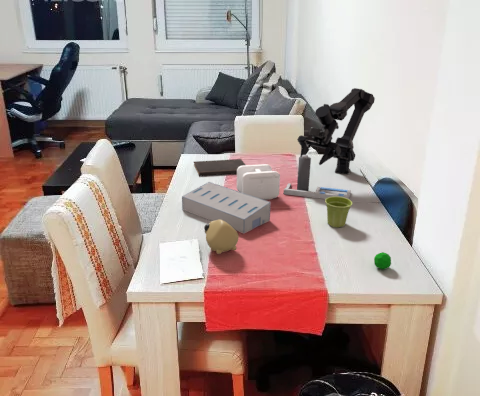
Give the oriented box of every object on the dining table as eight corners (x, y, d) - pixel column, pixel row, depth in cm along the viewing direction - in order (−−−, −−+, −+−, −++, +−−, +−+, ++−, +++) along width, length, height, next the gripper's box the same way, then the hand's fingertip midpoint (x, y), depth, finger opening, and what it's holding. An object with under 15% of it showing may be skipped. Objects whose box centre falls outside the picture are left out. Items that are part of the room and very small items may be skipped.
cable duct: (288, 184, 213) (289, 178, 212) (350, 191, 207) (351, 185, 206) (283, 193, 203) (283, 188, 202) (348, 201, 196) (349, 195, 195)
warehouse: (182, 210, 186) (181, 191, 183) (209, 199, 197) (208, 181, 194) (243, 234, 168) (244, 214, 166) (269, 221, 179) (270, 202, 176)
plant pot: (351, 220, 180) (354, 198, 176) (347, 231, 171) (350, 208, 168) (325, 217, 182) (327, 194, 179) (320, 227, 174) (322, 204, 171)
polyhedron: (387, 263, 151) (389, 249, 149) (392, 272, 147) (394, 257, 145) (371, 263, 151) (372, 249, 149) (375, 272, 146) (377, 257, 145)
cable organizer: (271, 190, 207) (272, 163, 202) (279, 199, 197) (280, 171, 193) (236, 192, 203) (236, 165, 199) (242, 202, 194) (243, 174, 189)
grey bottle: (297, 187, 210) (300, 153, 204) (309, 189, 208) (311, 154, 203) (295, 191, 205) (298, 156, 200) (307, 193, 204) (310, 158, 198)
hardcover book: (193, 166, 235) (193, 161, 234) (241, 163, 240) (241, 158, 239) (199, 177, 221) (199, 172, 220) (249, 174, 226) (249, 169, 225)
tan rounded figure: (227, 239, 164) (227, 209, 160) (243, 255, 154) (244, 224, 150) (199, 244, 160) (198, 214, 156) (214, 261, 150) (214, 229, 146)
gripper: (301, 116, 209) (284, 147, 205) (340, 123, 197) (323, 156, 194) (310, 131, 217) (294, 161, 213) (348, 139, 206) (331, 171, 202)
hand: (309, 162), depth 205 cm, fingers open, 9 cm apart
